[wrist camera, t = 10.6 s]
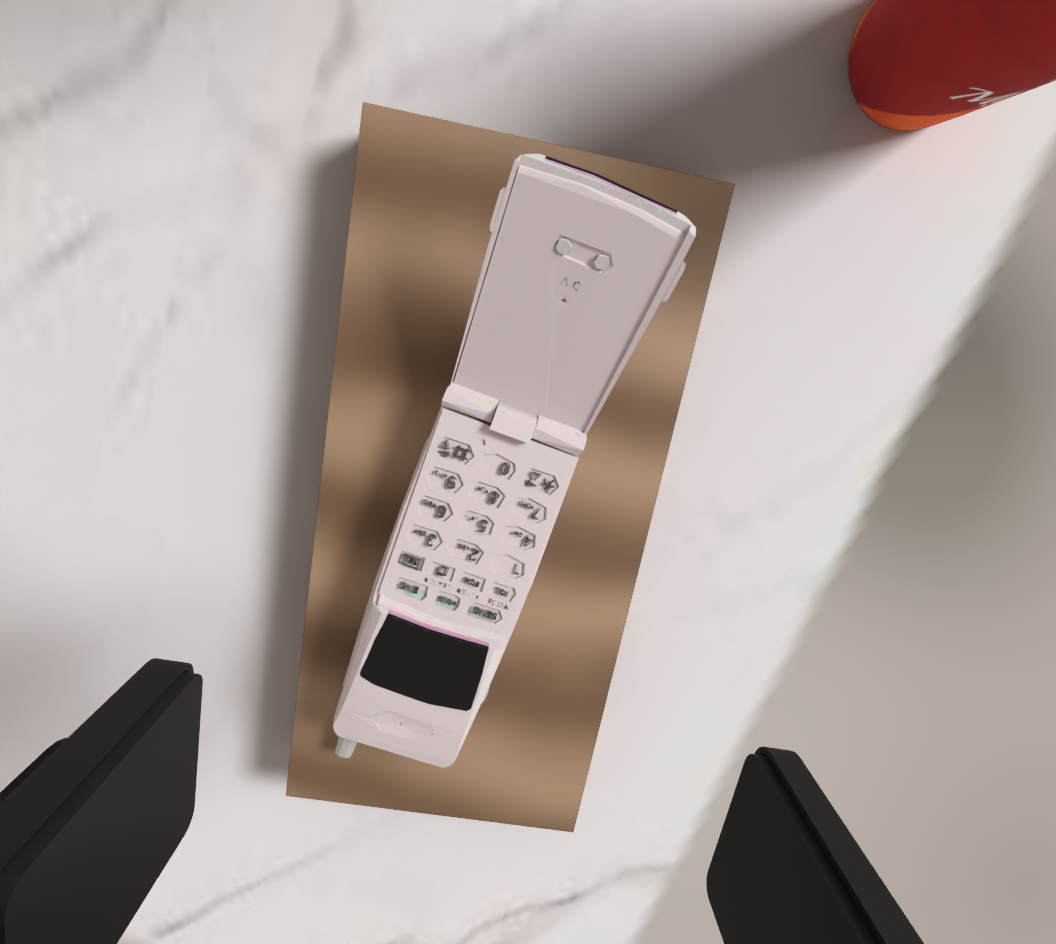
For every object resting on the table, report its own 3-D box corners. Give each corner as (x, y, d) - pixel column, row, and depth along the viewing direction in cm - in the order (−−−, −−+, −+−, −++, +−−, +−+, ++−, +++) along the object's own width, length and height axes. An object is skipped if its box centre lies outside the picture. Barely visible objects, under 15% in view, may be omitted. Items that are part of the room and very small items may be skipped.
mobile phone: (709, 218, 17) (432, 884, 22) (660, 247, 23) (448, 770, 28) (514, 135, 16) (274, 840, 22) (513, 186, 22) (325, 733, 27)
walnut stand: (380, 129, 24) (362, 102, 21) (708, 200, 25) (734, 184, 22) (306, 751, 31) (285, 795, 28) (567, 786, 32) (573, 832, 29)
